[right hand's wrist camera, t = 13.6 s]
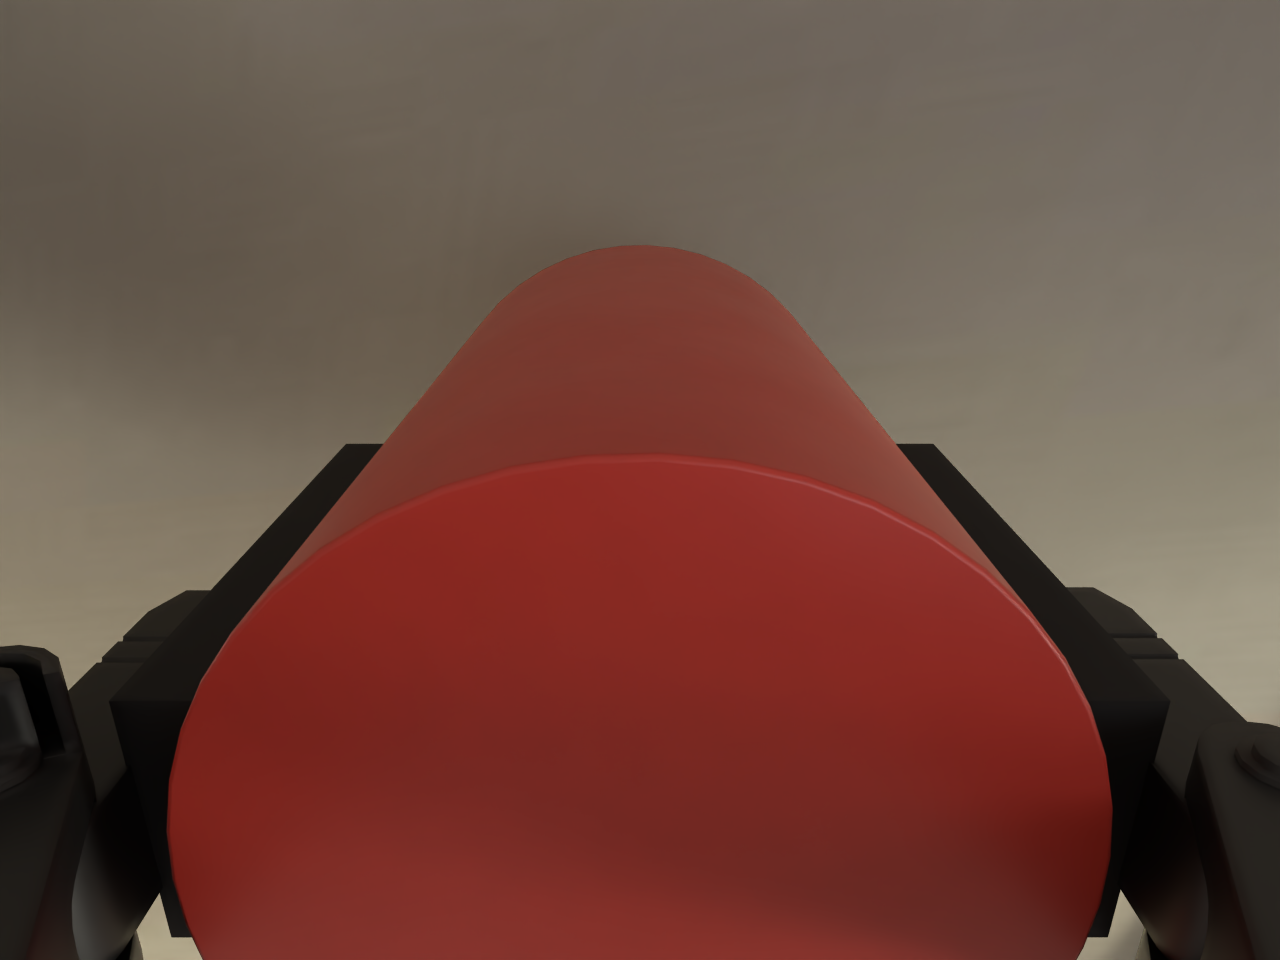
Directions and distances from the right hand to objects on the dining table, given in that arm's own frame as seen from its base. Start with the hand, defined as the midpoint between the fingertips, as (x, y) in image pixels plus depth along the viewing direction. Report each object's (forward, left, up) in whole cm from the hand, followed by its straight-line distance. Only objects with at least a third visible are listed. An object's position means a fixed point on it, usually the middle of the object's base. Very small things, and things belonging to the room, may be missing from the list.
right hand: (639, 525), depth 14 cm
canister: (0, 0, -4) cm, 4 cm away
